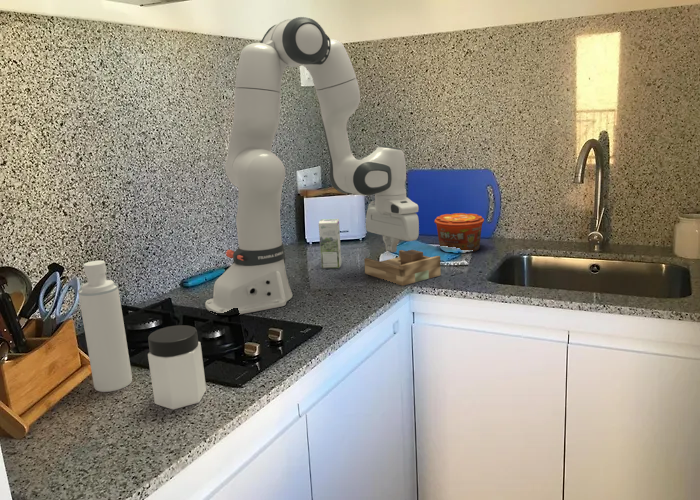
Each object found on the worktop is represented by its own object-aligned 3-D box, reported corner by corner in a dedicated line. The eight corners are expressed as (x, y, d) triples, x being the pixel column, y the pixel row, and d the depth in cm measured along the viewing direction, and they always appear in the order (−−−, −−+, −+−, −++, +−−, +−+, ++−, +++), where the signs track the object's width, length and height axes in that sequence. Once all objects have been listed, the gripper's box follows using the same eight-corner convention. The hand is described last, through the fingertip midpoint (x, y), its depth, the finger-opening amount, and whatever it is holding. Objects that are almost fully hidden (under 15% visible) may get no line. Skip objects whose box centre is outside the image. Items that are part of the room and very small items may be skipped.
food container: (464, 257, 187) (464, 223, 184) (425, 250, 198) (424, 218, 196) (494, 247, 197) (494, 215, 195) (455, 241, 209) (454, 210, 206)
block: (411, 270, 166) (411, 255, 165) (400, 267, 170) (400, 252, 169) (423, 267, 169) (423, 252, 168) (412, 264, 172) (412, 249, 171)
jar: (200, 382, 111) (192, 321, 108) (212, 399, 104) (204, 334, 101) (150, 395, 107) (141, 332, 104) (159, 414, 100) (150, 347, 97)
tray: (402, 285, 162) (401, 266, 160) (365, 273, 175) (364, 255, 174) (440, 275, 169) (440, 256, 168) (402, 264, 183) (401, 246, 182)
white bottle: (135, 374, 116) (116, 248, 110) (128, 389, 109) (107, 257, 103) (99, 378, 115) (78, 251, 109) (90, 394, 109) (67, 260, 103)
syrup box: (341, 263, 188) (339, 217, 184) (339, 268, 182) (336, 221, 179) (323, 264, 188) (320, 218, 185) (321, 269, 183) (318, 222, 179)
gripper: (360, 201, 177) (361, 247, 180) (405, 209, 160) (405, 259, 164) (377, 199, 180) (377, 244, 183) (422, 206, 164) (422, 255, 167)
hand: (391, 251), depth 173 cm, fingers closed
